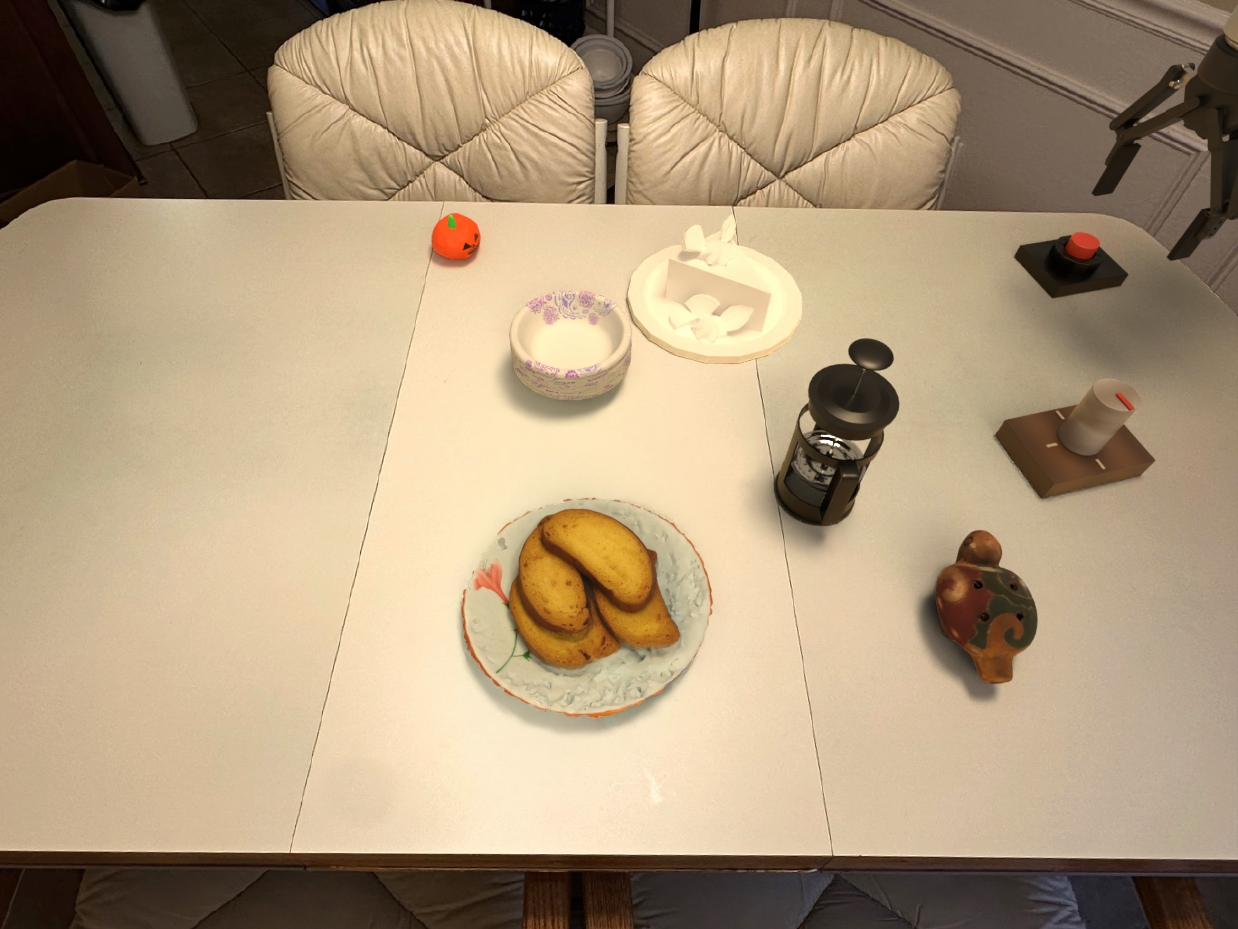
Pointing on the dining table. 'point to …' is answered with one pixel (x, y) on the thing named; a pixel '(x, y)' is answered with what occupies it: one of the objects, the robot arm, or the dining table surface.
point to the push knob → (1082, 245)
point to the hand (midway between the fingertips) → (1137, 224)
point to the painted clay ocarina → (986, 607)
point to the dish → (714, 299)
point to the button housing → (1068, 268)
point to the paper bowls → (571, 344)
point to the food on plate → (587, 607)
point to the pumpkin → (455, 236)
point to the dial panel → (1068, 454)
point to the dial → (1098, 416)
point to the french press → (839, 433)
